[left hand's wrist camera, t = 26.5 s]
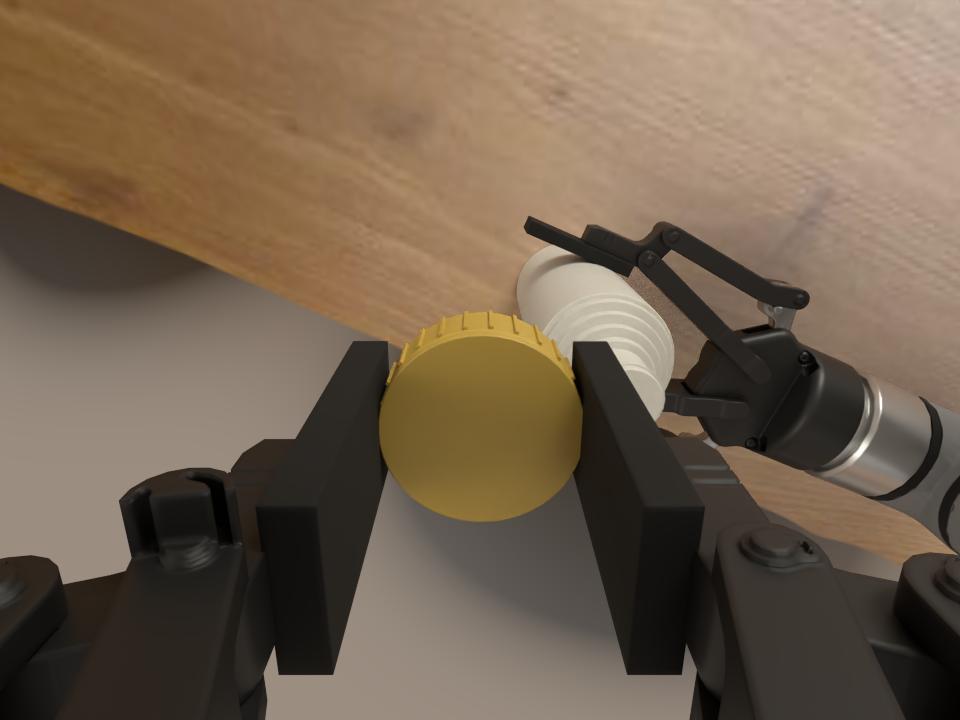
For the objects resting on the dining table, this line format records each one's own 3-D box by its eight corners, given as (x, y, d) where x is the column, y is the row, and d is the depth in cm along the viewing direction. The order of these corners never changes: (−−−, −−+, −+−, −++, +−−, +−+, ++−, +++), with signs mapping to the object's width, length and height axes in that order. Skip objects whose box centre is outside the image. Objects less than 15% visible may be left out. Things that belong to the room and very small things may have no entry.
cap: (608, 432, 15) (624, 469, 13) (447, 511, 15) (443, 555, 14) (520, 272, 13) (526, 291, 12) (349, 367, 14) (333, 397, 13)
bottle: (555, 353, 47) (609, 505, 27) (497, 284, 45) (510, 393, 26) (630, 296, 45) (743, 412, 26) (572, 222, 44) (647, 287, 24)
